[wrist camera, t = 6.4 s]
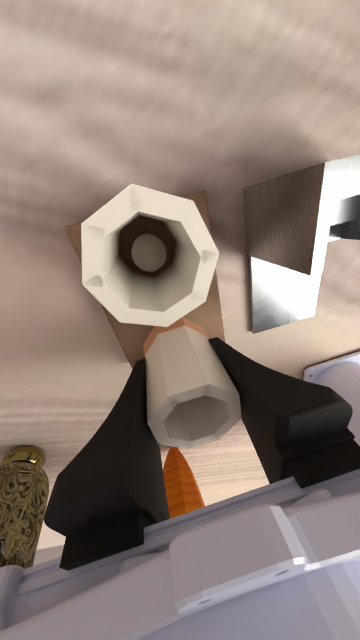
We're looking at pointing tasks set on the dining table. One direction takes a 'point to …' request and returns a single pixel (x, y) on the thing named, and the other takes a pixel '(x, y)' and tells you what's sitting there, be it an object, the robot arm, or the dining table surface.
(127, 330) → the pin board
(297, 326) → the dining table surface
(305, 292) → the grey metal bracket
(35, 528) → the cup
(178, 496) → the carrot
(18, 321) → the dining table surface
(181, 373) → the sleeve
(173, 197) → the sleeve
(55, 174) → the dining table surface
